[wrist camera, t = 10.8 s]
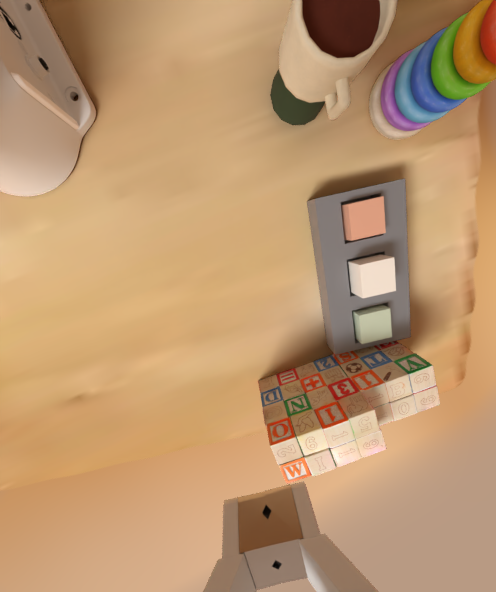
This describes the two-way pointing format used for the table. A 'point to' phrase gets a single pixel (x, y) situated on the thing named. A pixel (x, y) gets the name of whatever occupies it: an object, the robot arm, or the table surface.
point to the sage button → (372, 323)
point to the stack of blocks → (342, 406)
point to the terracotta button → (363, 218)
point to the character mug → (326, 54)
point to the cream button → (372, 275)
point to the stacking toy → (436, 75)
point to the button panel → (338, 252)
